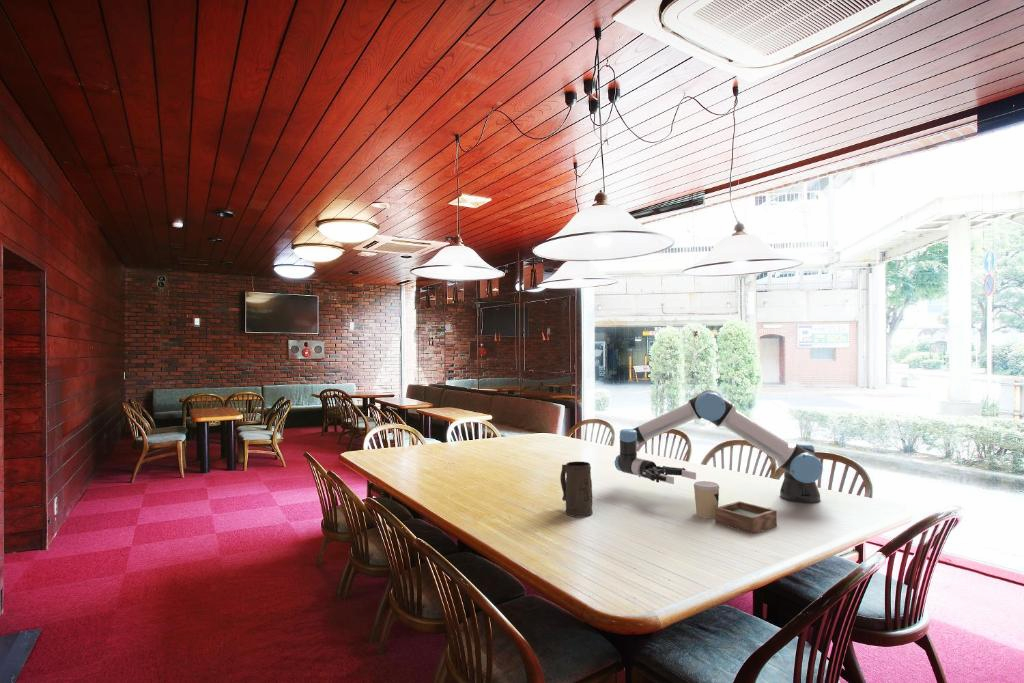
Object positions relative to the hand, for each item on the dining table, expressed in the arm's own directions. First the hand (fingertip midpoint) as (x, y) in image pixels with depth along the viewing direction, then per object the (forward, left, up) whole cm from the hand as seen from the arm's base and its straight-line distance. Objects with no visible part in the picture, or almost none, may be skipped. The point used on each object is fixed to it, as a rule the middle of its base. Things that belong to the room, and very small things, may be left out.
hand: (684, 478), depth 212 cm
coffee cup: (0, +10, -12) cm, 16 cm away
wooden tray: (-2, +25, -12) cm, 28 cm away
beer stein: (+39, -23, -12) cm, 47 cm away
